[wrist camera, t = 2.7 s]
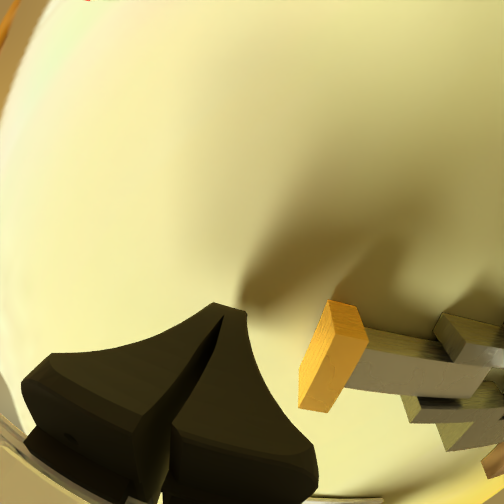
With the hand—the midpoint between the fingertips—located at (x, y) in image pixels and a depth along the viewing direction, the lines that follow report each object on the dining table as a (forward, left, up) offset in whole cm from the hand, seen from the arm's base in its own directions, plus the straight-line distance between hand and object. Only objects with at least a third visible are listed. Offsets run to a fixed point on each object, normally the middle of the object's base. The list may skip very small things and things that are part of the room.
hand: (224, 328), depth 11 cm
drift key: (0, -8, -1) cm, 8 cm away
